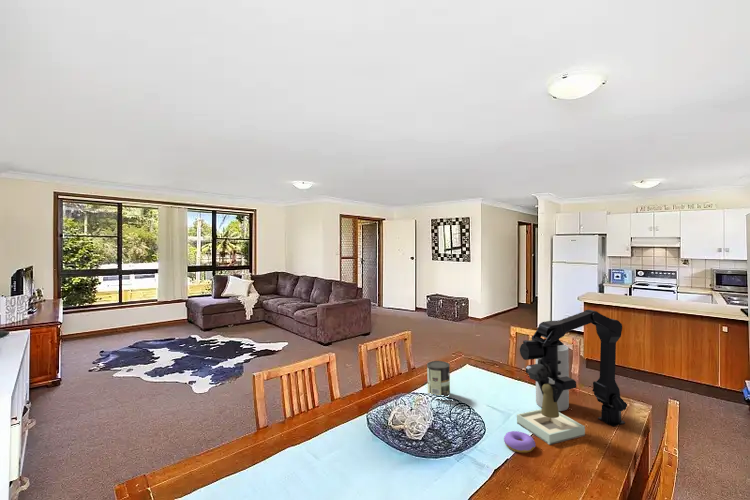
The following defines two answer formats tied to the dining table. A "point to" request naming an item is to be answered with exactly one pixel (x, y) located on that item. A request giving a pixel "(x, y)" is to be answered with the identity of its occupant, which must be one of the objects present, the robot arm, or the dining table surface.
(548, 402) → the pepper shaker
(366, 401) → the dining table surface
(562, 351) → the cylinder vase
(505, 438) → the donut
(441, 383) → the coffee can
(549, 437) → the square tray
